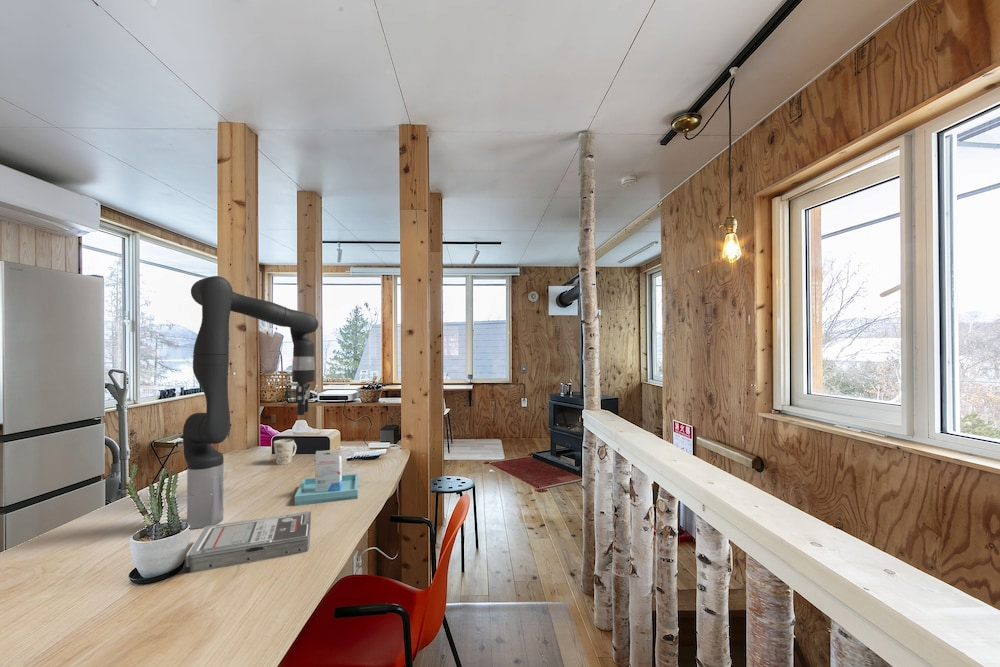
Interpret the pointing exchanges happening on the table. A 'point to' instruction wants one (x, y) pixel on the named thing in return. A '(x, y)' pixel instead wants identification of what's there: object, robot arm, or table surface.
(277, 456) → the mug
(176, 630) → the table surface
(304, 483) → the tray
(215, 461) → the robot arm
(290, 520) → the hard drive
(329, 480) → the ink box
